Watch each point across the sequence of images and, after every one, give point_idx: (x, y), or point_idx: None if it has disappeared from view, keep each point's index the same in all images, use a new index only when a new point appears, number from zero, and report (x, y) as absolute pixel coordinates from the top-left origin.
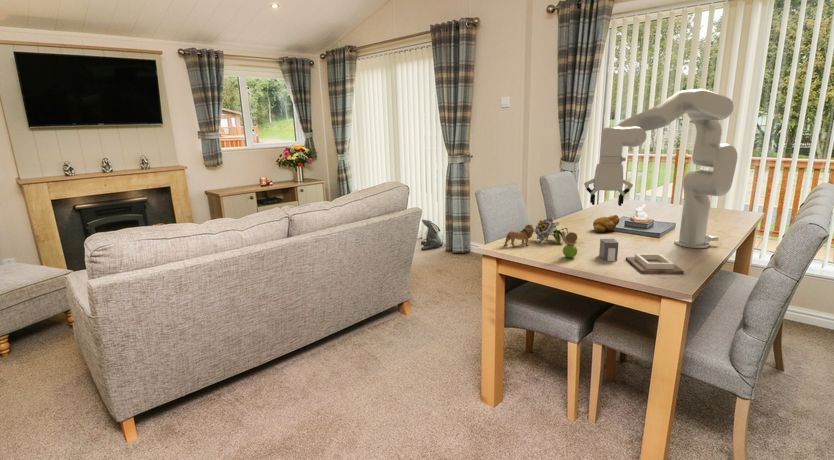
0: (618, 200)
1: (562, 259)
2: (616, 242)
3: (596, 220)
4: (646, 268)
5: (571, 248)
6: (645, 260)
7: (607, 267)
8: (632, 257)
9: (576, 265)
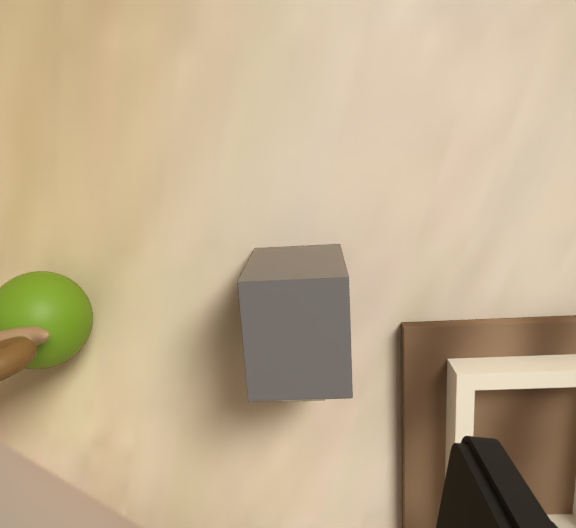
0: (481, 519)
1: None
2: (339, 389)
3: None
4: None
5: (32, 367)
6: None
7: (255, 466)
8: (443, 334)
9: (94, 444)
